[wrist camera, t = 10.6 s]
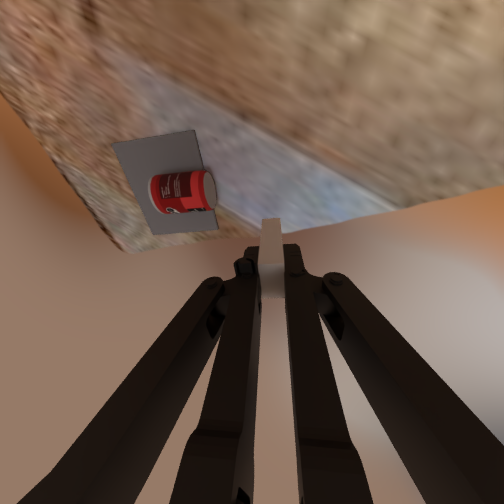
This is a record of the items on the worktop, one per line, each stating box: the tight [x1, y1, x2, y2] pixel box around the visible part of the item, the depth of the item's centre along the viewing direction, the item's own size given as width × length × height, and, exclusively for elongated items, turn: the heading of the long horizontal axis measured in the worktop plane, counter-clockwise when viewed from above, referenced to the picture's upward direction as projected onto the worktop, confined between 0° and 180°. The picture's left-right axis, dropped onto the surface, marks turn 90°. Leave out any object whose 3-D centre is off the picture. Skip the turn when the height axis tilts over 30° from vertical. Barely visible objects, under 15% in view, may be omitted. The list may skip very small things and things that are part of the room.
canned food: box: [148, 170, 216, 214], centre depth 38 cm, size 8×8×11 cm
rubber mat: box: [111, 130, 219, 235], centre depth 42 cm, size 21×18×1 cm
